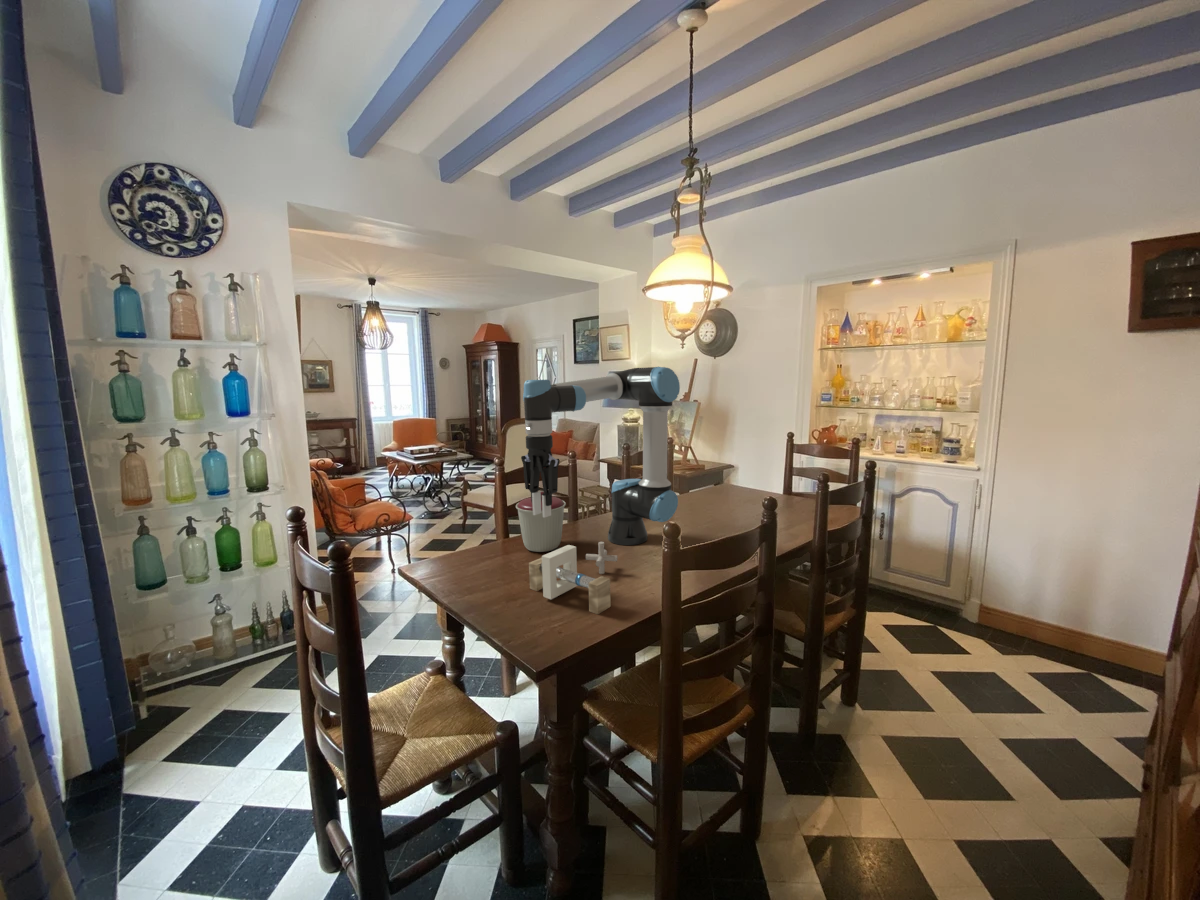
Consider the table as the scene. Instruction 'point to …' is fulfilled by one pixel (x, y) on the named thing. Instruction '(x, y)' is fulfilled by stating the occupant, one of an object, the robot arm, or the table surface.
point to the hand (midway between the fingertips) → (542, 514)
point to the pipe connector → (601, 557)
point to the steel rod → (572, 576)
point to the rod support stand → (597, 588)
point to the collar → (549, 565)
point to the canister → (541, 525)
